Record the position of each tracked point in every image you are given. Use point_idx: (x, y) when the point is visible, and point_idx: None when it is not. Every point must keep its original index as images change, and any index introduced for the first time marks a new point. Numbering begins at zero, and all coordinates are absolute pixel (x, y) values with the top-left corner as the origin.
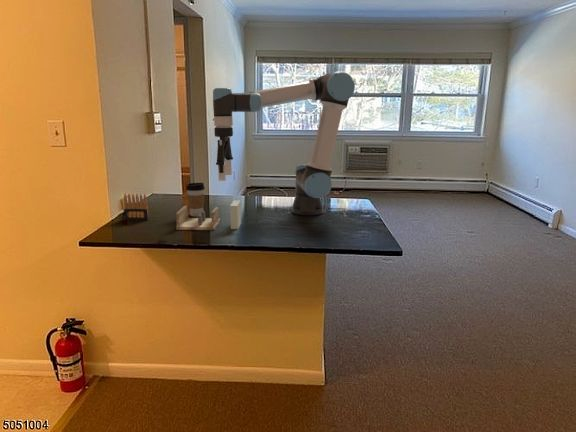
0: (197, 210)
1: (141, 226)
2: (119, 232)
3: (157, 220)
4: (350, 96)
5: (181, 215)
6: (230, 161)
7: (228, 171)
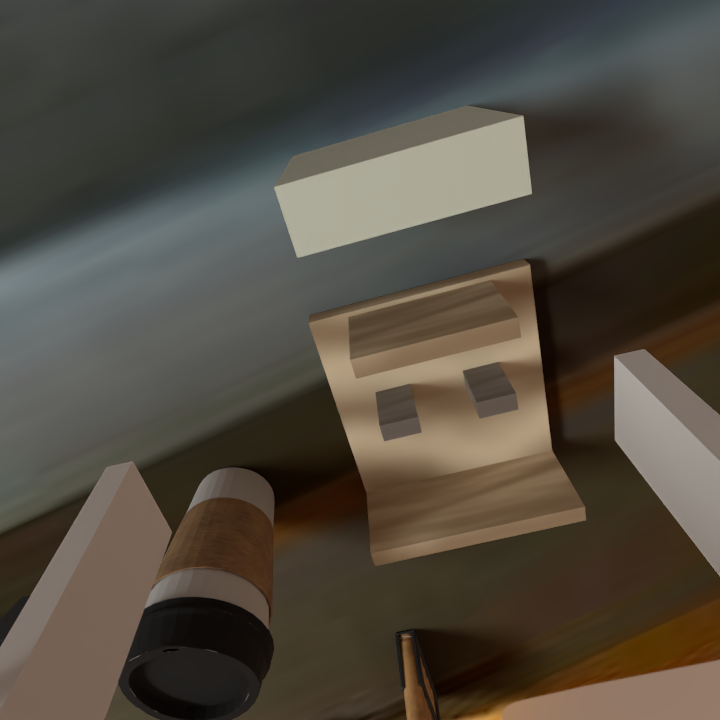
0: (261, 503)
1: (520, 602)
2: (620, 623)
3: (407, 597)
4: None
5: (517, 499)
6: (19, 690)
7: (132, 537)
